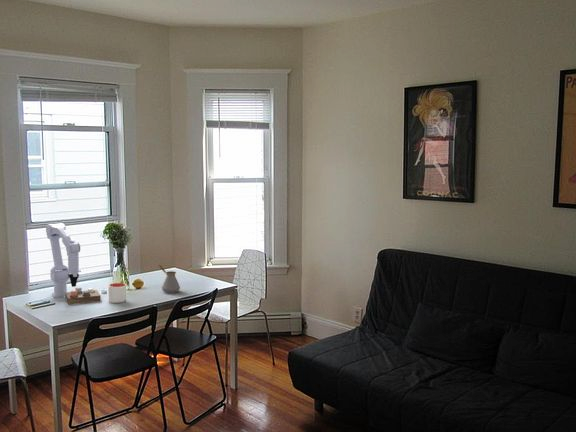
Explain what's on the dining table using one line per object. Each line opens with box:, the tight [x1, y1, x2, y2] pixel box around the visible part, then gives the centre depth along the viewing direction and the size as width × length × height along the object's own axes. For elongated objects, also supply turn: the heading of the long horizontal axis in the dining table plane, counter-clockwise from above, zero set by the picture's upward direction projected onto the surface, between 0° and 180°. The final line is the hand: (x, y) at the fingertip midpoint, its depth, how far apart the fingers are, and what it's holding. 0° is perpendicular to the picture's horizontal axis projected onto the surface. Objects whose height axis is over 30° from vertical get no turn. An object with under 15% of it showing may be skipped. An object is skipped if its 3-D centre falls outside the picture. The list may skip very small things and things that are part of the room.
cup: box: [108, 282, 127, 304], centre depth 330 cm, size 10×10×10 cm
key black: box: [83, 290, 90, 297], centre depth 329 cm, size 3×3×4 cm
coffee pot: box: [157, 264, 181, 294], centre depth 358 cm, size 21×12×15 cm, turn 42°
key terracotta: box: [70, 290, 77, 298], centre depth 325 cm, size 3×3×4 cm
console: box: [64, 289, 102, 305], centre depth 331 cm, size 14×18×4 cm
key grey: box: [74, 286, 83, 294], centre depth 333 cm, size 3×3×4 cm
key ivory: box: [87, 287, 95, 293], centre depth 336 cm, size 3×3×4 cm
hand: (73, 286), depth 325 cm, fingers closed
